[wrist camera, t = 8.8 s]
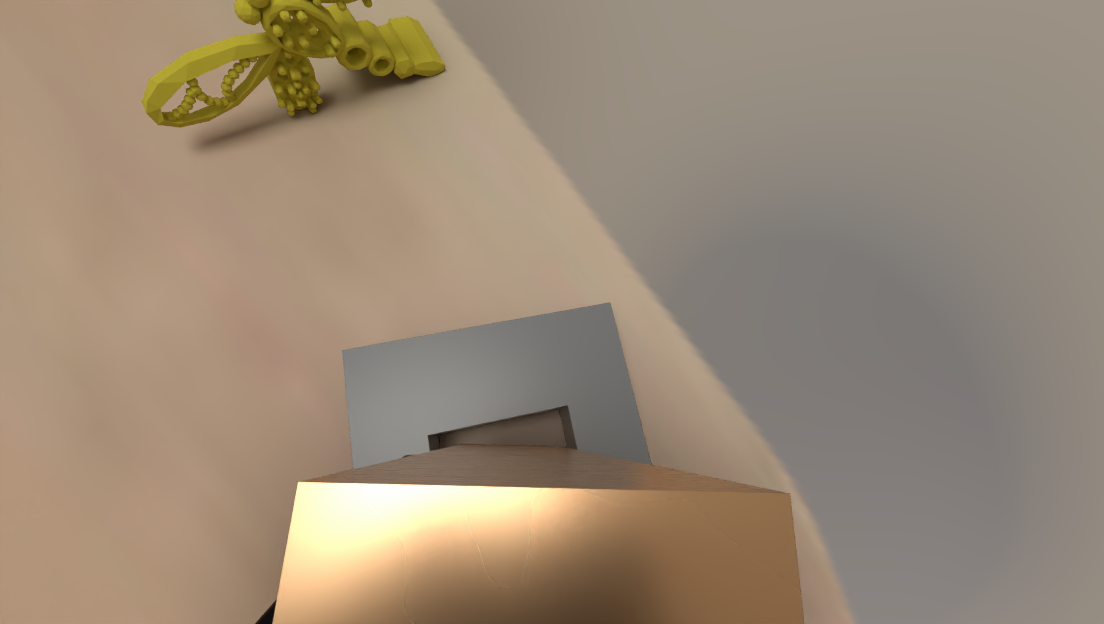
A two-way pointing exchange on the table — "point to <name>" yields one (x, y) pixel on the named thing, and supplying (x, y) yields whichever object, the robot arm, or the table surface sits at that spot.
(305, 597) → the square bit
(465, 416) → the socket plate
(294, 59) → the decorative insect
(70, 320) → the table surface
